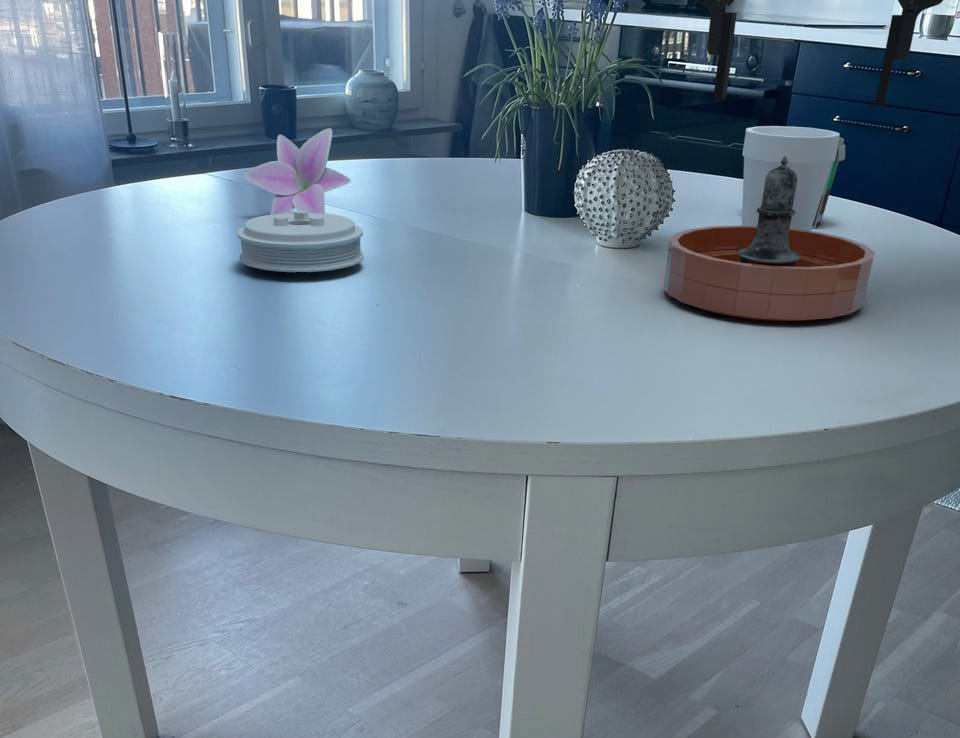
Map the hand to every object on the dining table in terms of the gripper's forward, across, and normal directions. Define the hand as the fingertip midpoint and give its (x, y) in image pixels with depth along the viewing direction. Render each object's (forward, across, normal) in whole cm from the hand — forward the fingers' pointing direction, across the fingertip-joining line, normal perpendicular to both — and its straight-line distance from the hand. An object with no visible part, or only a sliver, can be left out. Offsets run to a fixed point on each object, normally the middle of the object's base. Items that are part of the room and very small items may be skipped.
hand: (798, 101), depth 89 cm
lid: (+16, -46, -7) cm, 50 cm away
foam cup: (+17, -2, +16) cm, 24 cm away
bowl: (+17, 0, 0) cm, 17 cm away
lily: (+16, -58, +15) cm, 63 cm away
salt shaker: (+17, 0, 0) cm, 17 cm away
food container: (+17, -2, +43) cm, 46 cm away
